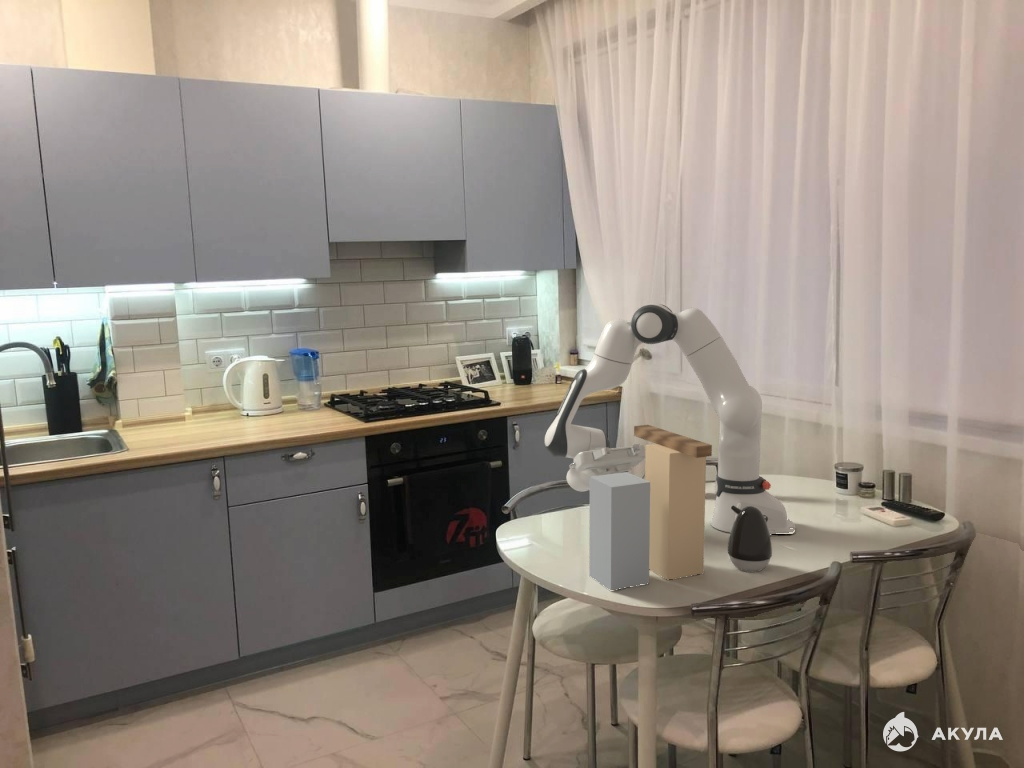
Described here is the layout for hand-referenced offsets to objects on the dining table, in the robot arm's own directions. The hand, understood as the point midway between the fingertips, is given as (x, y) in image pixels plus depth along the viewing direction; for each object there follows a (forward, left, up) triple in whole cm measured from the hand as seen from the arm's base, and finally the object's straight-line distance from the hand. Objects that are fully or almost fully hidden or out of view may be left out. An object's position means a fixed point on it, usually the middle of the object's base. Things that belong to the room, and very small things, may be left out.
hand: (623, 448), depth 212 cm
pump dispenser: (-30, +17, -25) cm, 43 cm away
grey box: (+1, +28, -25) cm, 37 cm away
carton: (-12, +20, -25) cm, 34 cm away
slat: (-11, +19, +5) cm, 22 cm away
